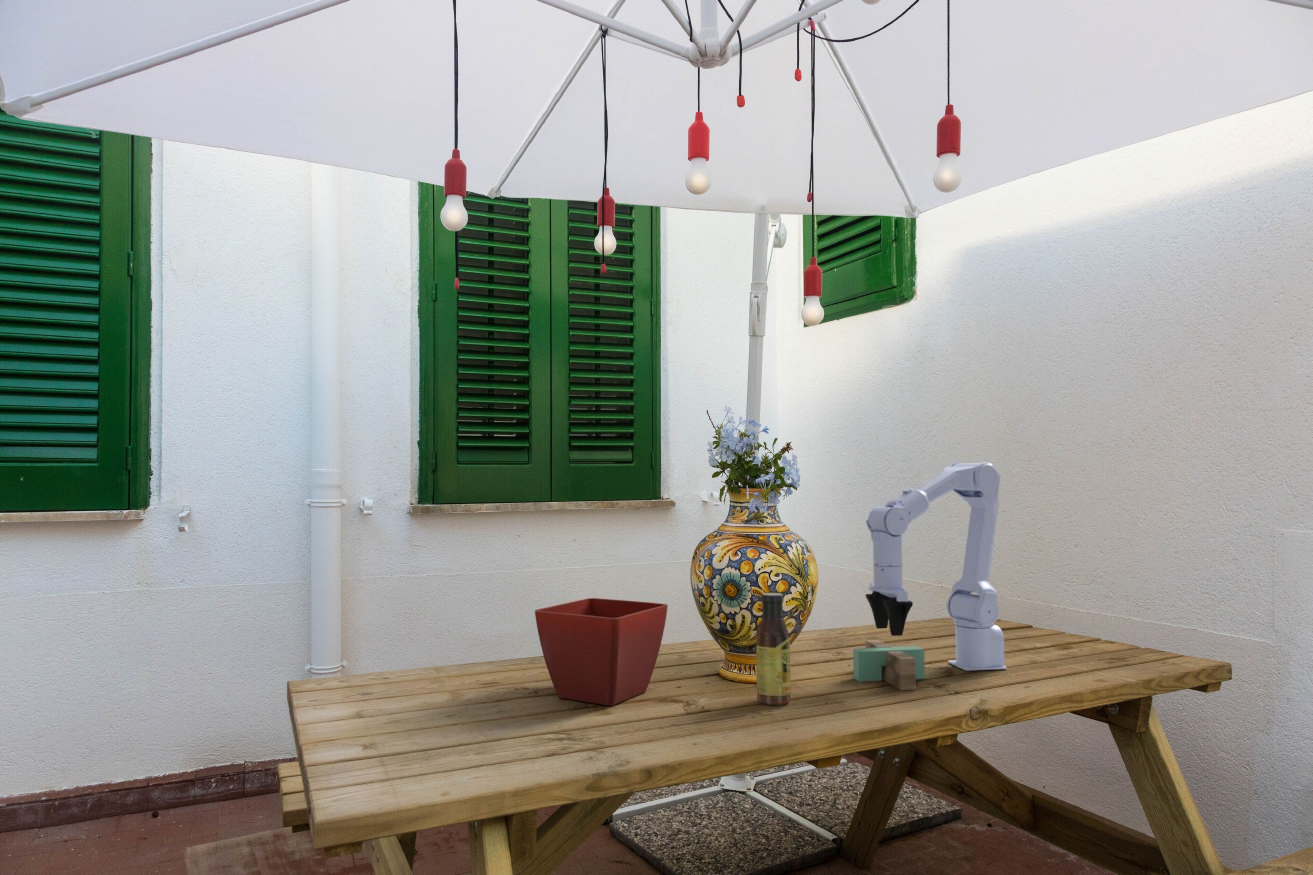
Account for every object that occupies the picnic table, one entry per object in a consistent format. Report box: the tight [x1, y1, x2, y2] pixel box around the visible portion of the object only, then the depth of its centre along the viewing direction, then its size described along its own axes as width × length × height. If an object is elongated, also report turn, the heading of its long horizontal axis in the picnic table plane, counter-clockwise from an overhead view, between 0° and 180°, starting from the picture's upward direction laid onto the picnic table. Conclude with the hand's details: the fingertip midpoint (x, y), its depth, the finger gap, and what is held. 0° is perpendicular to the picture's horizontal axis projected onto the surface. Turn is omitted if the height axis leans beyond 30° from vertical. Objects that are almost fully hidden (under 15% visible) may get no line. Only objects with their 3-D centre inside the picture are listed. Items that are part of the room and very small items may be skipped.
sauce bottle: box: [755, 592, 792, 706], centre depth 156 cm, size 6×6×20 cm
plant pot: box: [534, 597, 668, 706], centre depth 162 cm, size 19×19×17 cm
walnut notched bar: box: [865, 639, 917, 691], centre depth 172 cm, size 18×3×6 cm, turn 8°
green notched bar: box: [852, 645, 926, 683], centre depth 173 cm, size 14×3×6 cm, turn 98°
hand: (889, 631), depth 173 cm, fingers open, 7 cm apart
